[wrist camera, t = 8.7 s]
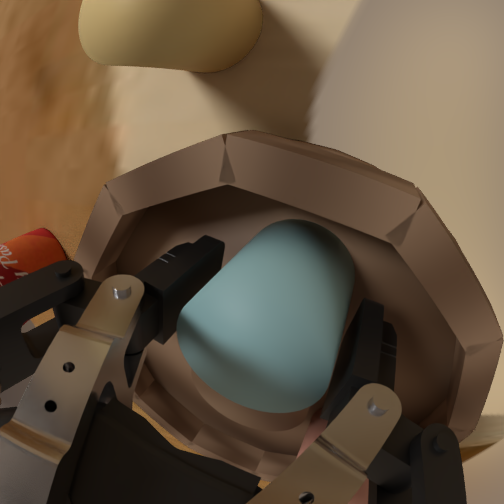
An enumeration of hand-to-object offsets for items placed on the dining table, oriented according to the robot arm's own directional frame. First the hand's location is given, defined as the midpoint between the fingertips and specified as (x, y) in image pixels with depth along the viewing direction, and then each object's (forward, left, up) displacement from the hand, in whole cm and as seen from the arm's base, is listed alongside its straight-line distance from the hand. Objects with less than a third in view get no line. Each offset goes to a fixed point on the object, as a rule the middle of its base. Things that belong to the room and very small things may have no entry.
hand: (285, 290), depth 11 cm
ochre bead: (-9, -6, -3) cm, 11 cm away
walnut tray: (+6, 0, -2) cm, 7 cm away
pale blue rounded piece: (0, 0, -1) cm, 1 cm away
